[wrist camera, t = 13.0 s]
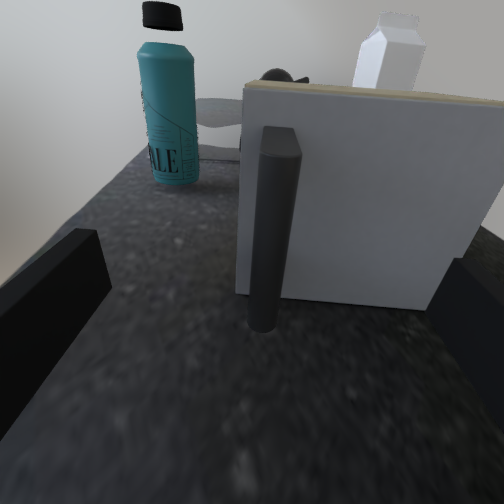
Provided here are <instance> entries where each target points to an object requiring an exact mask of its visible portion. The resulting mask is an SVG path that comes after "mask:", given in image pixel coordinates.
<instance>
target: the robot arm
mask: <svg viewBox="0 0 504 504" xmlns="http://www.w3.org/2000/svg"><path fill="white" fill-rule="evenodd" d="M111 289H112V285H111V282H110V278H109V274H108V270H107V267H106V263H105V259H104V256H103V252H102V248H101V245H100V241H99V237H98V234H97V230H91V229H79V228H76V229H74V230H73V231H72V232H71V233H69V234H68V235H67V236H66V237H64V238H63V239H62V240H61V241H59V242H58V243H57V244H56V245H54V246H53V247H52V248H51V249H49V250H48V251H47V252H46V253H45V254H43V255H42V256H41V257H40V258H38V259H37V260H36V261H35V262H33V263H32V264H31V265H30V266H28V267H27V268H26V269H25V270H23V271H22V272H21V273H20V274H18V275H17V276H16V277H15V278H13V279H12V280H11V281H10V282H8V283H7V284H6V285H5V286H4V287H2V288H1V289H0V441H1V440H2V438H3V437H4V435H5V434H6V433H7V431H8V430H9V429H10V427H11V426H12V424H13V423H14V422H15V420H16V419H17V418H18V416H19V415H20V413H21V412H22V411H23V409H24V408H25V407H26V405H27V404H28V402H29V401H30V400H31V398H32V397H33V396H34V394H35V393H36V391H37V390H38V389H39V387H40V386H41V385H42V383H43V382H44V380H45V379H46V378H47V376H48V375H49V374H50V372H51V371H52V370H53V368H54V367H55V365H56V364H57V363H58V361H59V360H60V359H61V357H62V356H63V354H64V353H65V352H66V350H67V349H68V348H69V346H70V345H71V343H72V342H73V341H74V339H75V338H76V337H77V335H78V334H79V332H80V331H81V330H82V328H83V327H84V326H85V324H86V323H87V321H88V320H89V319H90V317H91V316H92V315H93V313H94V312H95V310H96V309H97V308H98V306H99V305H100V304H101V302H102V301H103V299H104V298H105V297H106V295H107V294H108V293H109V291H110V290H111ZM424 313H425V314H426V316H427V317H428V319H429V320H430V322H431V323H432V325H433V326H434V328H435V329H436V331H437V332H438V334H439V335H440V337H441V339H442V340H443V342H444V343H445V345H446V346H447V348H448V349H449V351H450V352H451V354H452V355H453V357H454V358H455V360H456V361H457V363H458V365H459V366H460V368H461V369H462V371H463V372H464V374H465V375H466V377H467V378H468V380H469V381H470V383H471V384H472V386H473V387H474V389H475V391H476V392H477V394H478V395H479V397H480V398H481V400H482V401H483V403H484V404H485V406H486V407H487V409H488V410H489V412H490V413H491V415H492V417H493V418H494V420H495V421H496V423H497V424H498V426H499V427H500V429H501V430H502V432H503V433H504V285H503V284H502V283H501V282H500V281H499V280H498V279H497V278H496V277H495V276H493V275H492V274H491V273H490V272H489V271H488V270H487V269H486V268H485V267H483V266H482V265H481V264H480V263H479V262H478V261H477V260H476V259H468V258H455V257H454V258H453V260H452V262H451V264H450V266H449V268H448V270H447V271H446V273H445V275H444V277H443V279H442V281H441V282H440V284H439V286H438V288H437V290H436V292H435V293H434V295H433V297H432V299H431V301H430V303H429V304H428V306H427V308H426V310H425V312H424Z"/></svg>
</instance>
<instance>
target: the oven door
mask: <svg viewBox="0 0 504 504" xmlns="http://www.w3.org/2000/svg"><path fill="white" fill-rule="evenodd" d="M241 130H242V131H241V156H240V182H239V209H238V236H237V262H236V289H235V293H236V294H246V295H249V302H248V315H247V323H248V325H249V327H250V328H251V329H252V330H254V331H256V332H259V333H267V332H270V331H272V330H273V329H274V328H275V327H276V324H277V318H278V311H279V305H280V298H291V299H302V300H313V301H324V302H336V303H347V304H358V305H369V306H380V307H391V308H403V309H414V310H426V308H427V306H428V304H429V303H430V301H431V299H432V297H433V295H434V293H435V292H436V290H437V288H438V286H439V284H440V282H441V281H442V279H443V277H444V275H445V273H446V271H447V270H448V268H449V266H450V264H451V262H452V260H453V258H454V257H455V258H462V257H463V255H464V253H465V252H466V250H467V248H468V246H469V245H470V243H471V241H472V239H473V237H474V236H475V234H476V232H477V230H478V229H479V227H480V225H481V223H482V221H483V220H484V218H485V216H486V214H487V212H488V211H489V209H490V207H491V205H492V204H493V202H494V200H495V198H496V197H497V195H498V193H499V191H500V190H501V188H502V186H503V184H504V106H495V105H481V104H468V103H454V102H440V101H427V100H413V99H400V98H386V97H373V96H359V95H345V94H332V93H318V92H305V91H291V90H278V89H264V88H250V87H245V88H243V103H242V129H241Z"/></svg>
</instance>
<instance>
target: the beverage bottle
mask: <svg viewBox="0 0 504 504" xmlns="http://www.w3.org/2000/svg"><path fill="white" fill-rule="evenodd" d="M142 10H143V26H144V27H147V28H151V29H157V30H167V31H183V23H182V17H181V9H180V7H179V6H177V5H174V4H169V3H165V2H157V1H156V2H155V1H147V2H143V5H142ZM137 58H138V62H139V68H140V76H141V83H142V92H141V93H143V94H141V95H142V96H143V101H144V102H143V103H144V108H145V110H143V111H145V114H146V123H147V130H148V131H147V132H148V137H149V143H148V145H150V147H148V148H149V152H150V153H151V155H150V153H149V155H150V160H151V161H150V162H151V164H152V168H153V171H152V172H153V175H154V177H155V180H156V181H158V182H160V183H163V184H168V185H184V184H190V183H193V182H195V181H197V180H198V178H199V171H200V170H199V168H200V167H199V165H200V164H199V161H200V160H199V159H198V158H199V157H198V156H199V155H198V149H199V148H198V146H199V145H198V142H197V139H198V137H197V125H196V105H195V82H194V58H193V56H192V55H191V53H190V52H189V51H188V50H187V49H186V48H185V46H182V45H175V44H168V43H157V42H145V43H144V44H143V45H142V47H141V48H140V49H139V51H138V52H137Z"/></svg>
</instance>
